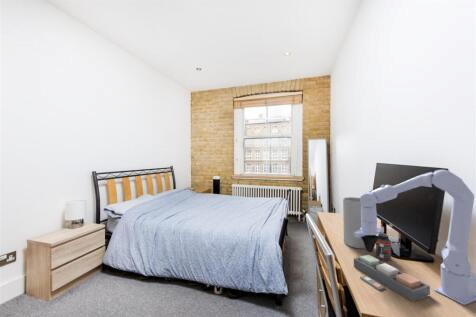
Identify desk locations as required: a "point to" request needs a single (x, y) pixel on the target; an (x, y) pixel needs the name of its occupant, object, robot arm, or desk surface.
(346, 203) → the cylinder vase
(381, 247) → the supplement bottle
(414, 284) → the terracotta key
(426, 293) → the grey divided tray
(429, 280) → the desk surface
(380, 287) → the card
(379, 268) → the white key
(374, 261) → the sage key
